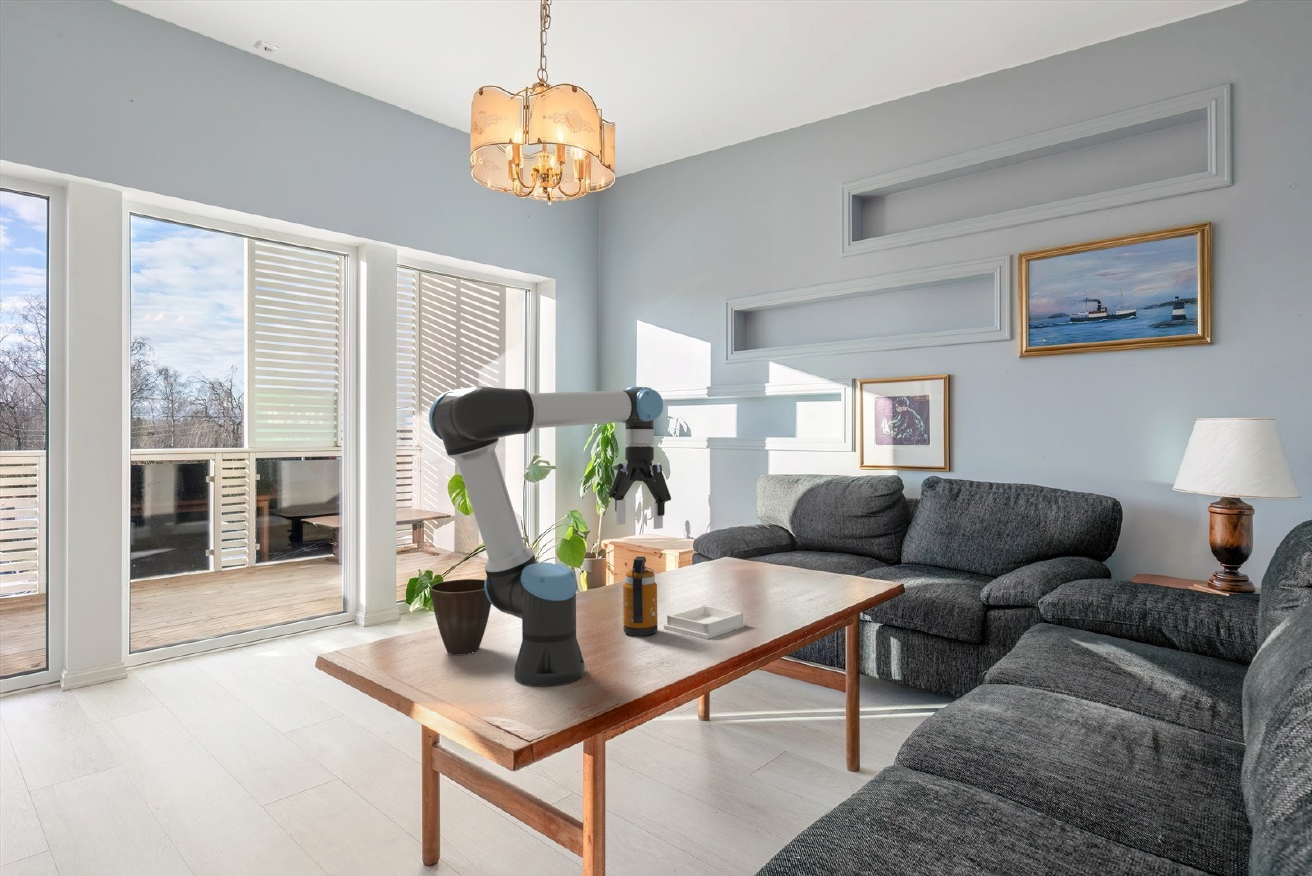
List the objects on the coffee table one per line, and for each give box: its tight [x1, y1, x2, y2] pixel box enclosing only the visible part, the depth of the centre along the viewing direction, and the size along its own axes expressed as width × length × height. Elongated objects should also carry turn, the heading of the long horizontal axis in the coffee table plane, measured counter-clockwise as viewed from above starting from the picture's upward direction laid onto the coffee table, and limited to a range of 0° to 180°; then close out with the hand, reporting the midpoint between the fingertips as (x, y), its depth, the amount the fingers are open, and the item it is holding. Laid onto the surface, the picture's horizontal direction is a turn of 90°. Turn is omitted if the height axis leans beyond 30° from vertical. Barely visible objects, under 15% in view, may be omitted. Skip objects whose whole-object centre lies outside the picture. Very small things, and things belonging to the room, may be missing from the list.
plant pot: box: [430, 578, 492, 656], centre depth 173 cm, size 15×15×16 cm
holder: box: [663, 604, 748, 640], centre depth 191 cm, size 17×15×4 cm
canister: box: [622, 556, 658, 637], centre depth 186 cm, size 9×11×20 cm
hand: (639, 526), depth 187 cm, fingers open, 13 cm apart
